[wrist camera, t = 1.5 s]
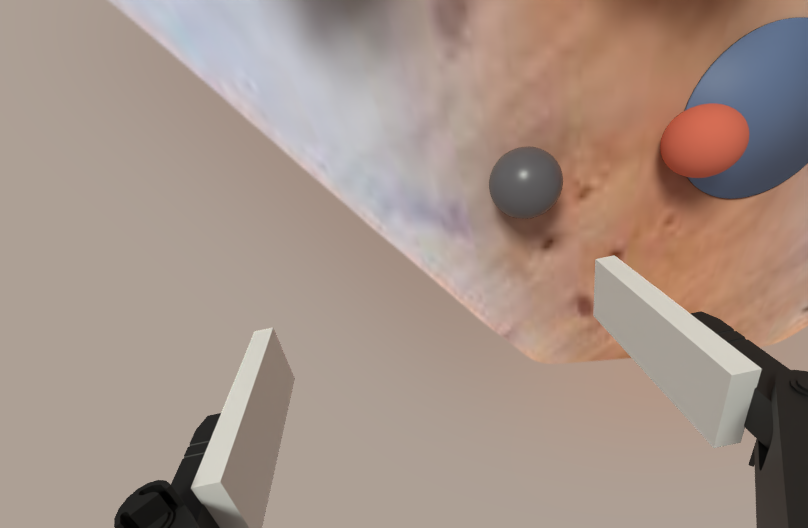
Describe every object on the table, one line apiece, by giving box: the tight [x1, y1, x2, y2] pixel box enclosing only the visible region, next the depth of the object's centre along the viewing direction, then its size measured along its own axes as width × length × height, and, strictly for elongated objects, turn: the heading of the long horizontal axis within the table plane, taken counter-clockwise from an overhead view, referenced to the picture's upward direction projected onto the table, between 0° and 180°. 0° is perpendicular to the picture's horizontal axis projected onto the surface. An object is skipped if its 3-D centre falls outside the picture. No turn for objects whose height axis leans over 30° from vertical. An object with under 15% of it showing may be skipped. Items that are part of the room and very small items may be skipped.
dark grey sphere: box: [489, 147, 563, 219], centre depth 31 cm, size 6×6×6 cm
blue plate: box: [684, 18, 808, 199], centre depth 33 cm, size 14×14×1 cm
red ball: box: [660, 103, 749, 178], centre depth 31 cm, size 6×6×6 cm
